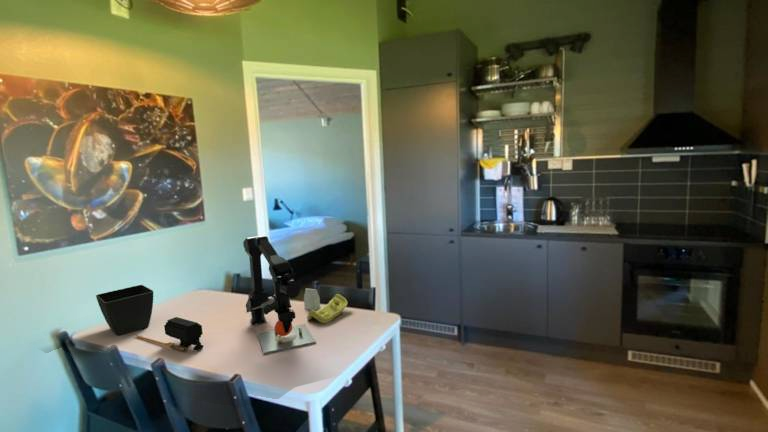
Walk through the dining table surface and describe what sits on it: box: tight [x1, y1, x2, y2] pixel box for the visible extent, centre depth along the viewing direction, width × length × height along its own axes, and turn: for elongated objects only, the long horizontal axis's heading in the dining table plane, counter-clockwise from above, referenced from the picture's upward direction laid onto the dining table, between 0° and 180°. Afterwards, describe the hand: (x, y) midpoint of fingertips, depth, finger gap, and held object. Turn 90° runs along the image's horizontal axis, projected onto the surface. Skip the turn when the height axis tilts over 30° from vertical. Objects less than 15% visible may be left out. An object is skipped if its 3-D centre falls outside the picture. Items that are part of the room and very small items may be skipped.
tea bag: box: [303, 288, 321, 312], centre depth 201 cm, size 4×7×10 cm, turn 61°
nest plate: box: [257, 323, 317, 356], centre depth 167 cm, size 20×20×1 cm
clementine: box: [274, 320, 293, 336], centre depth 167 cm, size 8×7×7 cm
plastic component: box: [306, 293, 349, 324], centre depth 192 cm, size 20×7×10 cm
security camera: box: [163, 316, 204, 352], centre depth 165 cm, size 7×18×10 cm, turn 58°
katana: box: [135, 334, 187, 352], centre depth 168 cm, size 1×35×3 cm, turn 59°
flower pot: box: [95, 284, 154, 336], centre depth 187 cm, size 19×19×17 cm
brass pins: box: [273, 326, 302, 344], centre depth 168 cm, size 12×10×3 cm
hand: (285, 329), depth 167 cm, fingers closed on clementine, 7 cm apart
